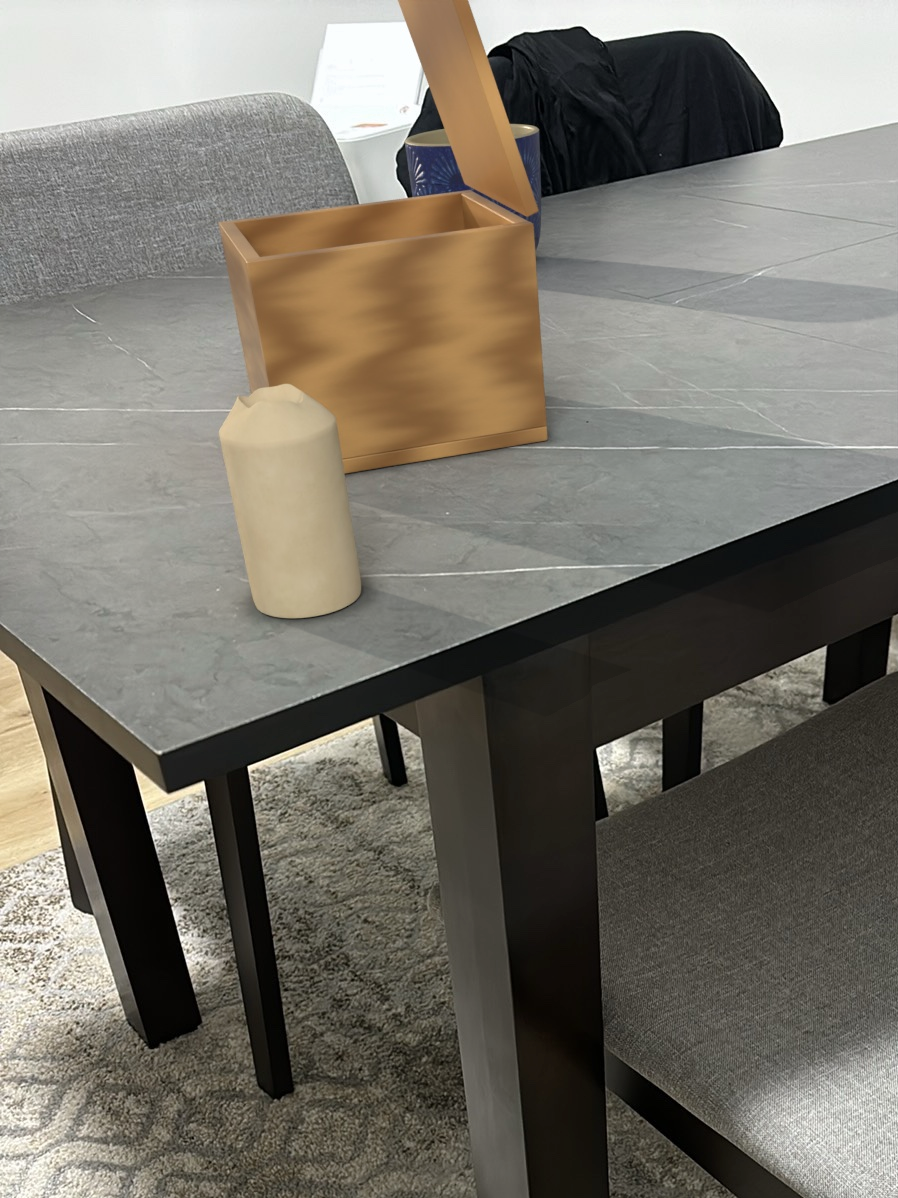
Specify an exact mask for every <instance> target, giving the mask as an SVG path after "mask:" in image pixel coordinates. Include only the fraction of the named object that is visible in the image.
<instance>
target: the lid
mask: <svg viewBox="0 0 898 1198" xmlns="http://www.w3.org/2000/svg"><path fill="white" fill-rule="evenodd" d="M397 2H398V5H399V8H400V10H401V13H402V17H403V18H404V21H405V24H406V26H407V27H406V28H407V29H408V30H407V31H408V32H409V35H410V38H411V40H412V44H413V46H414V49H415V51H416V54H417V57H418V60H419V63H420V66H421V67H422V71H423V73H424V76H425V79H426V82H427V84H428V87H429V90H430V92H431V96H432V98H433V102H434V104H435V106H436V109H437V111H438V114H439V117H440V121H441V123H442V125H443V129H445V131H446V134H447V137H448V139H449V142H450V145H451V148H452V150H453V153H454V156H455V159H456V161H457V164H458V167H459V170H460V172H461V175H462V178H463V181H464V183H465V185H467V186H469V187H471V188H473V189H475V190H477V191H479V192H481V193H483V194H484V195H486V196H488V197H490V198H492V199H494V200H496V201H498V202H500V203H501V204H503V205H505V206H507V207H509V208H511V209H513V210H515V211H517V212H519V213H520V214H522V215H524V216H526V217H529V216H531V215H533V214H535V213H537V212H538V207H537V204H536V201H535V198H534V195H533V192H532V189H531V186H530V183H529V180H528V177H527V174H526V171H525V168H524V165H523V162H522V159H521V156H520V153H519V150H518V147H517V144H516V141H515V138H514V135H513V132H512V130H511V127H510V124H511V123H510V121H509V118H508V115H507V112H506V109H505V106H504V102H503V99H502V97H501V94H500V91H499V89H498V84H497V82H496V79H495V76H494V73H493V70H492V67H491V65H490V61H489V58H488V55H487V52H486V50H485V46H484V43H483V40H482V37H481V34H480V32H479V28H478V25H477V23H476V19H475V17H474V13H473V11H472V7H471V5H470V2H469V0H397Z"/></svg>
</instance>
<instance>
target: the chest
mask: <svg viewBox="0 0 898 1198" xmlns="http://www.w3.org/2000/svg"><path fill="white" fill-rule="evenodd" d="M218 228H219V232H220V233H219V234H220V238H221V243H222V248H223V255H224V259H225V265H226V269H227V270H226V271H227V275H228V281H229V286H230V290H231V295H232V296H231V297H232V301H233V307H234V313H235V317H236V322H237V327H238V332H239V333H238V334H239V338H240V344H241V348H242V349H241V350H242V354H243V360H244V364H245V365H244V366H245V369H246V374H247V375H246V376H247V380H248V381H247V382H248V387H249V391H250V395H251V394H252V393H253V392H254V391H255V390H257V389H259V388H265V387H274V386H279V385H282V384H290V385H293V386H294V387H296V388H297V389H299V390H301V391H303V392H304V393H305V394H307V395H308V396H310V397H311V398H313V399H314V400H316V401H317V402H319V403H320V404H321V405H323V406H324V407H325V408H326V409H328V410H329V411H330V412H331V413H332V414H333V415H334V416H335V417H336V422H337V428H338V435H339V441H340V448H341V454H342V461H343V467H344V474H345V475H346V474H352V473H358V472H365V471H371V470H377V469H383V468H388V467H394V466H400V465H407V464H413V463H419V462H426V461H430V460H437V459H443V458H449V457H455V456H462V455H467V454H474V453H478V452H479V453H480V452H486V451H492V450H498V449H504V448H509V447H515V446H521V445H528V444H533V443H540V442H546V441H548V423H547V422H548V421H547V407H546V405H547V404H546V391H545V376H544V362H543V347H542V345H543V344H542V332H541V331H542V330H541V318H540V317H541V316H540V315H541V313H540V301H539V286H538V285H539V284H538V271H537V257H536V251H535V239H534V224H533V223H531V222H529V221H527V220H525V219H523V218H521V217H520V216H518V215H516V214H514V213H512V212H510V211H508V210H506V209H505V208H503V207H501V206H499V205H497V204H495V203H493V202H491V201H490V200H488V199H486V198H484V197H482V196H480V195H478V194H477V193H475V192H473V191H472V190H466V191H458V192H450V193H442V194H435V195H427V196H419V197H413V196H412V197H404V198H403V197H402V198H395V199H388V200H381V201H372V202H365V203H358V204H349V205H341V206H335V207H334V206H333V207H326V208H317V209H311V210H303V211H295V212H288V213H280V214H272V215H263V216H255V217H249V218H240V219H234V220H233V219H232V220H225V221H219V222H218Z"/></svg>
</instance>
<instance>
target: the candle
mask: <svg viewBox="0 0 898 1198" xmlns="http://www.w3.org/2000/svg"><path fill="white" fill-rule="evenodd" d="M230 409H231V410H230V411H229V413H228V415H227V417H226V418H225V420H224V422H223V423H222V424H221V427H220V428H219V430H218V437H219V442H220V446H221V451H222V457H223V461H224V465H225V472H226V476H227V481H228V485H229V490H230V495H231V501H232V505H233V509H234V515H235V519H236V524H237V529H238V534H239V539H240V543H241V549H242V554H243V559H244V564H245V569H246V573H247V579H248V583H249V587H250V592H251V597H252V600H253V603H254V605H255V608H256V609H257V610H258V611H259V612H261V613H263V614H264V615H267V616H270V617H273V618H280V619H281V618H282V619H304V618H305V619H306V618H312V617H319V616H323V615H327V614H331V613H333V612H337V611H339V610H342V609H344V608H346V607H347V606H350V605H352V604H353V603H354V602H355V601H357V600H358V599H359V597H360V595H361V593H362V579H361V573H360V564H359V559H358V551H357V545H356V539H355V532H354V526H353V520H352V514H351V507H350V500H349V494H348V487H347V481H346V474H344V467H343V461H342V454H341V448H340V441H339V435H338V428H337V422H336V417H335V416H334V415H333V414H332V413H331V412H330V411H329V410H328V409H326V408H325V407H324V406H323V405H321V404H320V403H319V402H317V401H316V400H314V399H313V398H311V397H310V396H308V395H307V394H305V393H304V392H303V391H301V390H299V389H297V388H296V387H294V386H293V385H290V384H282V385H279V386H274V387H265V388H259V389H257V390H255V391H254V392H253V393H252V394H251V393H250V395H247V396H243V395H238V396H237V397H236V400H235V401H234V404H233V406H232V408H230Z"/></svg>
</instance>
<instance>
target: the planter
mask: <svg viewBox="0 0 898 1198" xmlns="http://www.w3.org/2000/svg"><path fill="white" fill-rule="evenodd" d="M509 124H510V127H511V130H512V132H513V135H514V138H515V141H516V144H517V147H518V150H519V153H520V156H521V159H522V162H523V165H524V168H525V171H526V174H527V177H528V180H529V183H530V186H531V189H532V192H533V195H534V198H535V201H536V204H537V207H538V212H537V213H535V214H533V215H531V216H529V217H526V216H524V215H522V214H520V213H519V212H517V211H515V210H513V209H511V208H509V207H507V206H505V205H503V204H501V203H500V202H498V201H496V200H494V199H492V198H490V197H488V196H486V195H484V194H483V193H481V192H479V191H477V190H475V189H473V188H471V187H469V186H467V185H465V183H464V181H463V178H462V175H461V172H460V170H459V167H458V164H457V161H456V159H455V156H454V153H453V150H452V148H451V145H450V142H449V139H448V137H447V134H446V131H445V128H442V129H441V128H440V129H434V130H430V131H425V132H420V133H417V134H414V135H411V136H409V137H407V138H405V140H404V146H405V153H406V161H407V168H408V173H409V174H408V176H409V182H410V187H411V196H412V197H419V196H427V195H435V194H442V193H450V192H458V191H466V190H472V191H473V192H475V193H477V194H478V195H480V196H482V197H484V198H486V199H488V200H490V201H491V202H493V203H495V204H497V205H499V206H501V207H503V208H505V209H506V210H508V211H510V212H512V213H514V214H516V215H518V216H520V217H521V218H523V219H525V220H527V221H529V222H531V223H533V224H534V239H535V252H536V251H537V248H538V247H539V243H540V239H541V230H542V229H541V228H542V178H541V174H542V173H541V151H540V149H541V148H540V147H541V146H540V129H539V128H538V127H537V126H535V125H530V124H523V123H522V124H521V123H509Z"/></svg>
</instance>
